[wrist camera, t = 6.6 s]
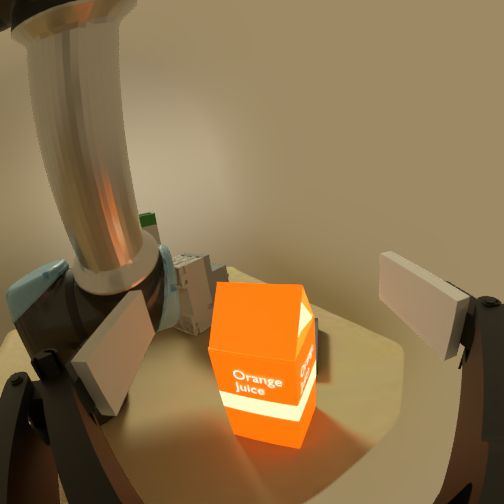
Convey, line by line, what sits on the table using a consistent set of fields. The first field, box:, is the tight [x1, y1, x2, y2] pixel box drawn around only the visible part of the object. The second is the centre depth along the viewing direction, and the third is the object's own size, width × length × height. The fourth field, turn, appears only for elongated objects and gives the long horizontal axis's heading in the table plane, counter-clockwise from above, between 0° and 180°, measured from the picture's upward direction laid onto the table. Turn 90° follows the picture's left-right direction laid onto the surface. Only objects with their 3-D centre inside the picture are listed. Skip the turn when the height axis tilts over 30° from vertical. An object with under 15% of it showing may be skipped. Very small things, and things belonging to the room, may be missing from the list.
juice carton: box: [208, 282, 316, 449], centre depth 28 cm, size 8×9×20 cm
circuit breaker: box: [172, 253, 229, 336], centre depth 59 cm, size 8×14×15 cm, turn 145°
